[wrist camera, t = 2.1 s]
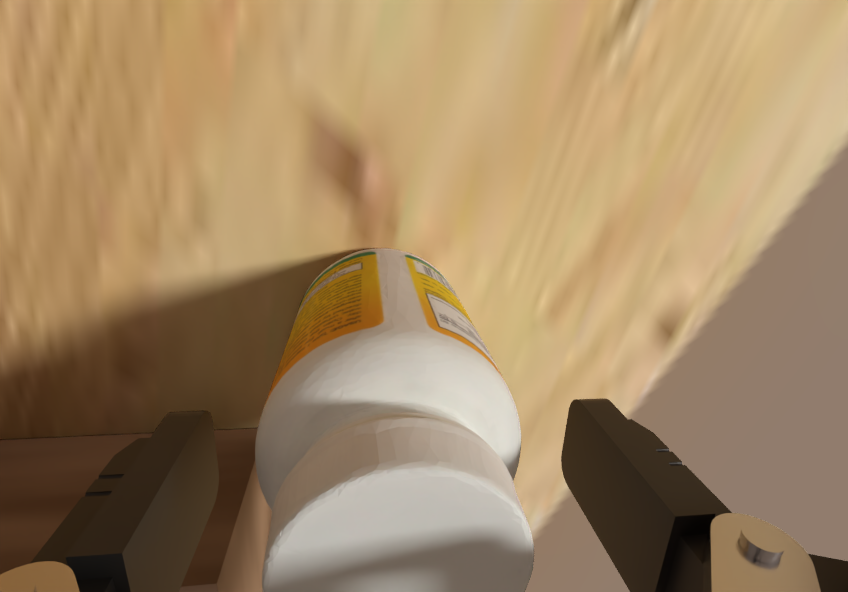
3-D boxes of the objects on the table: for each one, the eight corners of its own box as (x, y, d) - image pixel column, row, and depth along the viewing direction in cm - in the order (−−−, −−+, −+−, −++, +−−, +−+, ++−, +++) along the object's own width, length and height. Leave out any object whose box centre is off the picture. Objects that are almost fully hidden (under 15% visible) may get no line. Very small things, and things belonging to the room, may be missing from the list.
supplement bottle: (469, 254, 15) (630, 434, 6) (443, 395, 17) (540, 694, 8) (302, 235, 14) (208, 415, 5) (292, 386, 16) (209, 714, 7)
